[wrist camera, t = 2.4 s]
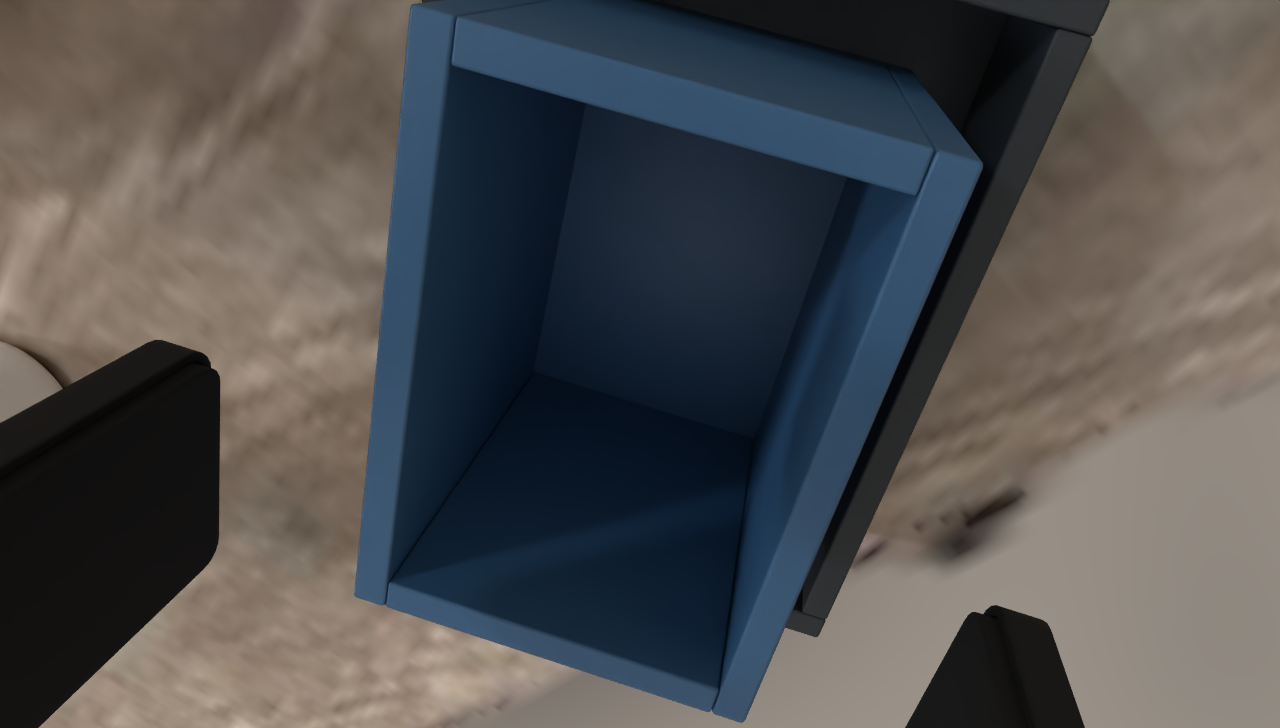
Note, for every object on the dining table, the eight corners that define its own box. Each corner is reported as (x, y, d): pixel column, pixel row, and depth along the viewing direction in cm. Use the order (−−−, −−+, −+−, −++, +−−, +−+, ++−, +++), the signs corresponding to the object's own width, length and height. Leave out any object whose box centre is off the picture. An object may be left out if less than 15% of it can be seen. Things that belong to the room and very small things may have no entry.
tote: (525, -150, 18) (438, -179, 14) (1044, -13, 17) (1113, -2, 13) (445, 406, 25) (370, 496, 21) (818, 522, 24) (818, 639, 20)
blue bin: (588, -19, 18) (409, 2, 10) (912, 70, 18) (986, 163, 10) (515, 374, 23) (352, 597, 15) (771, 452, 22) (743, 725, 15)
